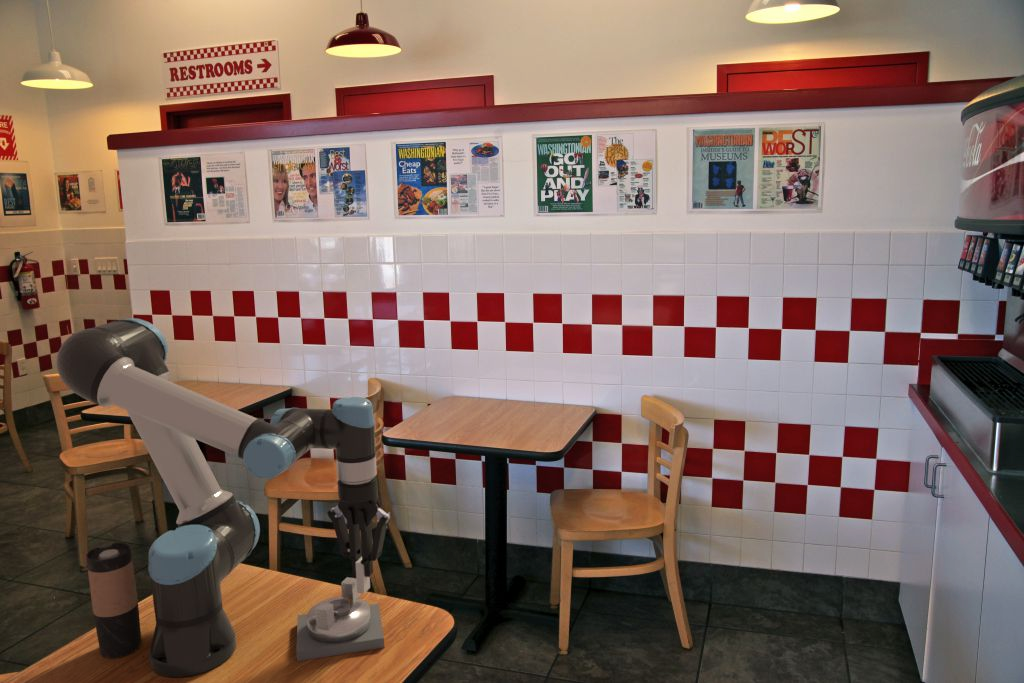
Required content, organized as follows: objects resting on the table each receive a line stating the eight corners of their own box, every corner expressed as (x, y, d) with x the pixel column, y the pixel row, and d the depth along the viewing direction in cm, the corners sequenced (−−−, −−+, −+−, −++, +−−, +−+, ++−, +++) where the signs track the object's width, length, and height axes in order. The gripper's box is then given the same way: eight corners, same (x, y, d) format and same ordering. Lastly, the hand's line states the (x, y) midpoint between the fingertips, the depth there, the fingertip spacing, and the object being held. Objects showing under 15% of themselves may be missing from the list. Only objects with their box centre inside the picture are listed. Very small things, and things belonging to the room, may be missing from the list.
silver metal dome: (307, 646, 146) (304, 613, 145) (307, 613, 157) (305, 582, 156) (372, 636, 149) (370, 604, 148) (368, 604, 160) (366, 574, 159)
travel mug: (125, 661, 147) (112, 562, 143) (89, 657, 148) (75, 559, 144) (151, 638, 154) (139, 543, 150) (117, 635, 156) (104, 540, 152)
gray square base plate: (297, 661, 146) (296, 648, 145) (298, 624, 158) (297, 612, 157) (384, 647, 149) (383, 635, 149) (379, 612, 162) (378, 600, 161)
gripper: (396, 473, 154) (401, 585, 158) (336, 468, 157) (343, 577, 162) (379, 487, 146) (385, 604, 151) (317, 481, 150) (324, 595, 155)
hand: (363, 590), depth 156 cm, fingers closed
